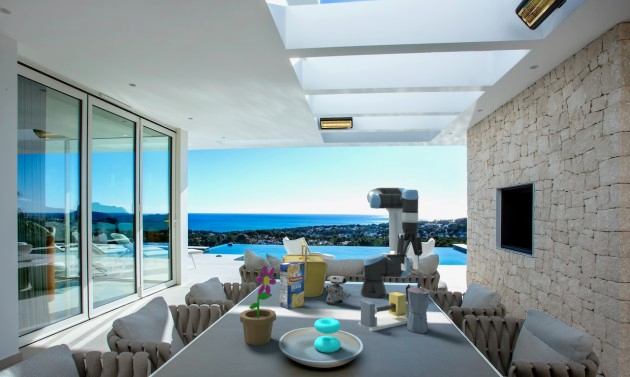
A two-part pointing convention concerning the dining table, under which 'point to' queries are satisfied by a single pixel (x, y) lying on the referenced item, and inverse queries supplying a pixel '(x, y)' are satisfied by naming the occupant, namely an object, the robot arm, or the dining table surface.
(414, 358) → the dining table surface
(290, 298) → the beverage box
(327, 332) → the donuts
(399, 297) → the yellow block on rod
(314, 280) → the picnic basket
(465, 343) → the dining table surface
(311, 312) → the dining table surface
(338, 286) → the figurine
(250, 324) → the flowerpot
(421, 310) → the moka pot
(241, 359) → the dining table surface
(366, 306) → the linear slide rail
